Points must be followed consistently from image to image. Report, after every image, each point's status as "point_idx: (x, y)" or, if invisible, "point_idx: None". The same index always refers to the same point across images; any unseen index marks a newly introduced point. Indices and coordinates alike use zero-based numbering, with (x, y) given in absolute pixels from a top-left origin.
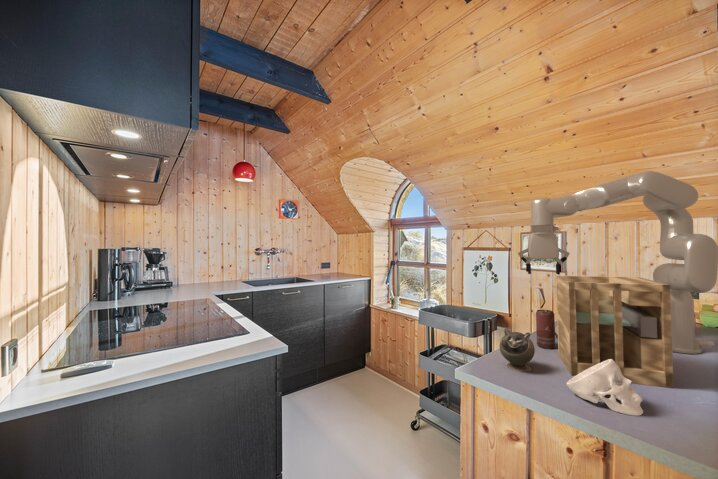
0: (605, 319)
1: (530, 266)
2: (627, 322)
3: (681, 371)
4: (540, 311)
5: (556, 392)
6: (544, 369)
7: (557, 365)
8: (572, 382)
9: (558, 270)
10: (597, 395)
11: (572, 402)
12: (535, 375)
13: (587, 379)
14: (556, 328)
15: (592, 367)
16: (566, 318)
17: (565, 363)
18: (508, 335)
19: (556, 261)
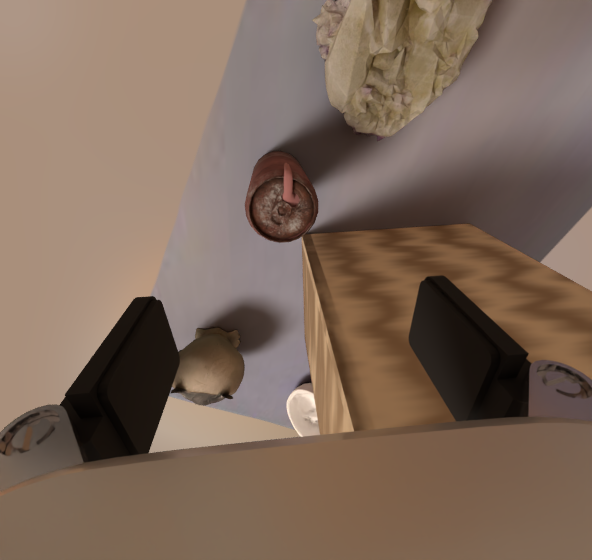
0: None
1: (151, 434)
2: None
3: (514, 246)
4: (263, 209)
5: (273, 393)
6: (263, 330)
7: (288, 303)
8: (292, 423)
9: (432, 371)
10: (316, 420)
11: None
12: (247, 357)
13: None
14: (330, 71)
15: None
16: (319, 407)
17: (304, 303)
18: (185, 395)
19: (522, 410)
